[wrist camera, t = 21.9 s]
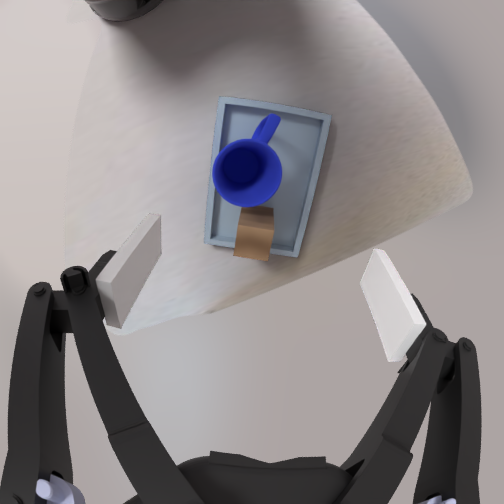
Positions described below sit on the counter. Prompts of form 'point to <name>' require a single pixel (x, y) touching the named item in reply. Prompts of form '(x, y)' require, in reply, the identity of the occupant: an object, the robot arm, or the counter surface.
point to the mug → (249, 167)
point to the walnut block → (254, 233)
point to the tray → (293, 169)
